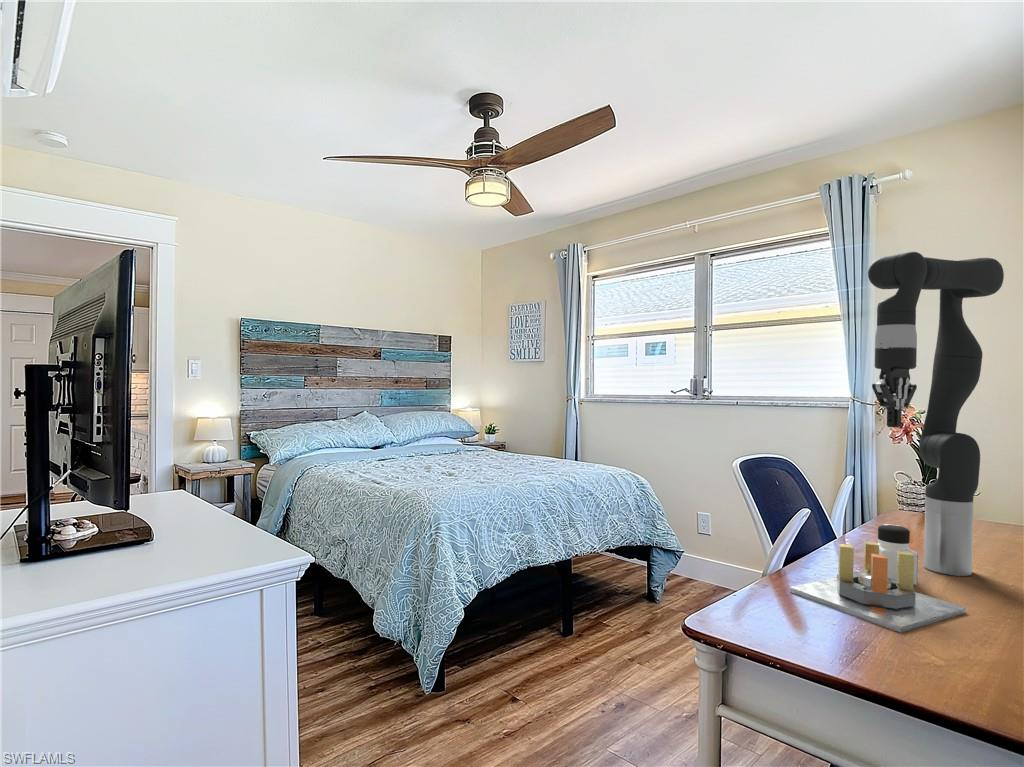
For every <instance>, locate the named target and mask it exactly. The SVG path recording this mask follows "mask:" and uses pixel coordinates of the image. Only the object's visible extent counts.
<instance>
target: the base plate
mask: <svg viewBox="0 0 1024 767" xmlns="http://www.w3.org/2000/svg"><path fill="white" fill-rule="evenodd" d="M858 584H860V585H863V586H865V587H868V588H871V573H863V572H859V579H858ZM887 590H891V579H890V578H889V577H887ZM789 593H791V594H792V593H793V594H795V595H797V596H800V597H803V598H806V599H807V600H810V601H814V602H817V603H819V604H822V605H823V606H826V607H829V608H832V609H835V610H838V611H841V612H842V613H846V614H848V615H850V616H853V617H857V618H859V619H862V620H865V621H868V622H870V623H872V624H876V625H878V626H880V627H883V628H886V629H889V630H891V631H895V632H897V633H899V634H902V633H905V632H907V631H908V632H909V631H911V630H914V629H918V628H921V627H925V626H927V625H930V624H934V623H938V622H940V621H944V620H947V619H951V618H953V617H957V616H960V615H963V614H966V613H967V608H966V607H965V606H962V605H958V604H955V603H952V602H949V601H947V600H942V599H939V598H935V597H934V596H933V597H932V596H929V595H926V594H923V593H921V592H916V591H915V593H916V595H915V606H910V607H903V608H897V609H894V608H888V607H881V606H875V605H869V604H863V603H860V602H858V601H855V600H853V599H850V598H848V597H845V596H843V595H840V594H839V591H838V588H837V576H836V577H830V578H826V579H823V580H817V581H812V582H807V583H803V584H799V585H798V584H797V585H793V586H790V587H789Z"/></svg>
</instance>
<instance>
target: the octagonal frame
mask: <svg viewBox="0 0 1024 767" xmlns="http://www.w3.org/2000/svg"><path fill="white" fill-rule="evenodd" d="M878 543H879V542H875V541H874V542H873V541H863V572H862V573H871V588H868V587H865V586H863V585H860V584H858V579H859V573H860V572H858V571H854V552H855V551H854V550H855V548H854V546H853V545H851V544H845V543H843V544H842V543H839V544H838V573H837V574H836V577H837V588H838V591H839V594H840V595H843V596H845V597H848V598H850V599H853V600H855V601H858V602H860V603H863V604H869V605H875V606H881V607H888V608H894V609H897V608H903V607H910V606H915V595H916V593H915V592H916V591H915V590H914V585H913V581H914V555H913V554H912V552H904V551H897V580H895V579H892V578H890V579H891V590H887V573H888V558H887V557H886V555H879V545H878Z"/></svg>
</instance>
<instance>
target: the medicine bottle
mask: <svg viewBox="0 0 1024 767" xmlns="http://www.w3.org/2000/svg"><path fill="white" fill-rule="evenodd" d="M910 536H911V535H910V530H909V529H908V528H907V527H905V526H902V525H897V524H881V525H879V526H878V527H877V543H878V545H879V555H886V557H887V558H888V573H887V577H889V578H892V579H895V580H897V551H904V552H912V554H913V555H914V581H913V586H914V585H916V586H917V584H918V565H919V562H918V560H919V559H918V558H919V557H918V556H919V555H918V552H917V551H914V550H913V549H911V548H909V547H910V541H911V540H910V539H911V538H910Z"/></svg>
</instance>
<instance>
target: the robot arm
mask: <svg viewBox="0 0 1024 767" xmlns="http://www.w3.org/2000/svg"><path fill="white" fill-rule="evenodd" d="M1004 272H1005V271H1004V268H1003V266H1002V263H1000V262H999V261H998V260H997V259H995V258H993V257H978V258H969V259H962V260H961V259H960V260H953V259H952V260H950V259H942V258H935V257H924V255H923V254H921V253H920V252H917V251H909V252H903V253H902V252H901V253H898V254H892V255H886V256H882V257H878V258H877V259H875V260H874V261H872V263H871V264H870V266H869V267H868V270H867V277H868V280H869V281H870V283H871V285H872V286H874V287H875V288H877V289H881V290H897V291H896V293H895V294H894V295H892V296H890V297H888V298H884V299H882V300H880V301H879V302H878V304H877V308H876V331H875V337H874V368H875V369H877V370H880V371H879V372H880V373H879V377H878V378H879V379H878V380H879V381H878V382H872V384H871V388H872V390H873V393H874V395H875V397H876V399H877V403H878V404H879V406H880V407H884V410H886V426H887V427H888V428H901V426H902V414H903V412H902V411H903V410H904V408H908V407H909V405H910V403H911V401H912V400H913V397H914V395H915V392H916V390H917V384H915V383H913V384H912V383H911V375H910V370H914V369H916V368H917V356H918V355H917V350H918V349H917V347H918V346H917V343H918V342H917V341H918V338H917V337H918V334H917V333H918V332H917V326H916V324H917V304H918V301H919V297H920V295H921V291H922V290H924V291H925V290H933V291H934V290H939V314H938V317H939V319H938V328H937V338H936V346H935V351H934V358H933V365H932V376H931V384H930V391H929V397H928V403H927V410H926V413H925V419H924V422H923V427H922V431H921V435H920V439H919V443H918V452H919V456H920V458H921V460H922V461H923V463H924V464H925V465H927V466H929V467H931V468H935V469H938V474H937V476H938V477H937V479H936V480H935V481H934V482H931V483H928V484H926V486H925V490H924V491H925V492H924V493H925V494H924V495H925V497H924V498H925V499H924V539H923V541H924V545H923V546H924V547H923V548H924V551H923V552H924V553H923V567H924V568H925V569H927V570H929V571H932V572H935V573H939V574H944V575H949V576H959V577H969V576H972V574H973V548H974V547H973V536H974V497H975V494H976V492H977V490H978V487H979V479H980V466H981V450H980V446H979V444H978V442H977V440H976V438H974V437H972V436H971V435H969V434H967V433H962V432H957V424H958V418H959V415H960V411H961V409H962V407H963V406H964V404H965V402H967V400H968V398H969V397H970V396H971V394H972V393H973V391H974V390H975V389H976V386H977V385H978V383H979V382H980V377H981V370H982V363H983V350H982V347H981V345H980V343H979V341H978V340H977V338H976V337H975V335H974V333H973V332H972V331H971V329H970V328H969V326H968V325H967V323H966V321H965V318H964V314H963V313H964V312H963V299H968V298H969V299H971V298H983V297H987V296H992V295H995V294H996V293H997V292H998V291H1000V289H1001V287H1002V286H1003V283H1004V278H1005V277H1004V274H1005V273H1004Z"/></svg>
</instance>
